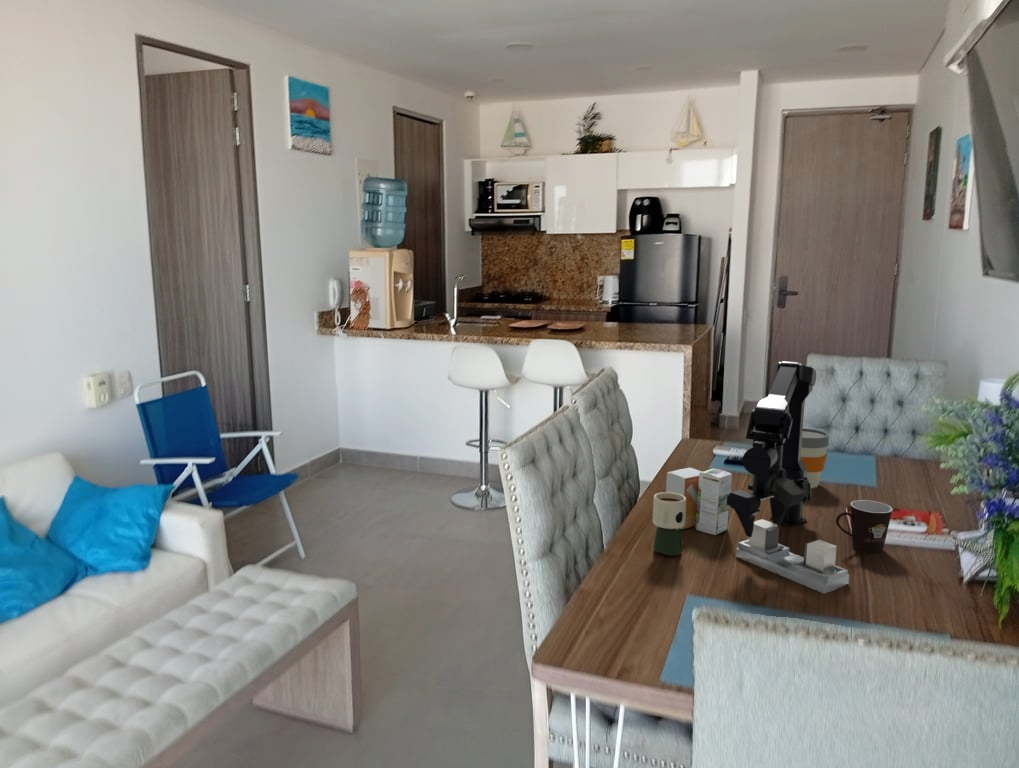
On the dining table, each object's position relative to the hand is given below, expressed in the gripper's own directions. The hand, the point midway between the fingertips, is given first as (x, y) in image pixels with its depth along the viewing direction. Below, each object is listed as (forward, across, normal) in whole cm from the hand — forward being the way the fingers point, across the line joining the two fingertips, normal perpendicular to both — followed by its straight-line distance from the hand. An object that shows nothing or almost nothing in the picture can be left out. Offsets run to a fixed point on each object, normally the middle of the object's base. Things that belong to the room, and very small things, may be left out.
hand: (762, 532), depth 170 cm
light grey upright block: (+4, 0, 0) cm, 4 cm away
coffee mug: (+6, +24, -8) cm, 26 cm away
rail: (+6, 0, -7) cm, 9 cm away
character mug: (+6, -15, +14) cm, 21 cm away
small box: (+6, +2, +25) cm, 26 cm away
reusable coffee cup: (+6, +54, +29) cm, 62 cm away
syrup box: (+6, +4, +18) cm, 19 cm away
